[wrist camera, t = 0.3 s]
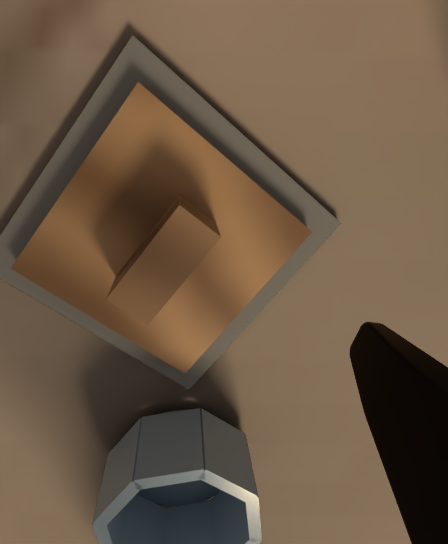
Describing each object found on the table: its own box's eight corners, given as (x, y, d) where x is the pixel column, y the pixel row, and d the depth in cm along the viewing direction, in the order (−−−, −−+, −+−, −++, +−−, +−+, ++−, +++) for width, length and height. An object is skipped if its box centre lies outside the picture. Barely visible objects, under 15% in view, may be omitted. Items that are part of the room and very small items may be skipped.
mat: (188, 384, 27) (188, 389, 26) (-16, 263, 22) (-21, 266, 21) (337, 220, 23) (341, 223, 23) (134, 37, 19) (132, 34, 18)
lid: (184, 364, 25) (185, 405, 22) (17, 262, 22) (-17, 290, 18) (307, 227, 23) (331, 247, 19) (140, 84, 19) (130, 74, 15)
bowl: (192, 516, 32) (194, 600, 26) (87, 468, 28) (65, 552, 23) (271, 440, 29) (292, 513, 24) (167, 379, 26) (163, 447, 21)
